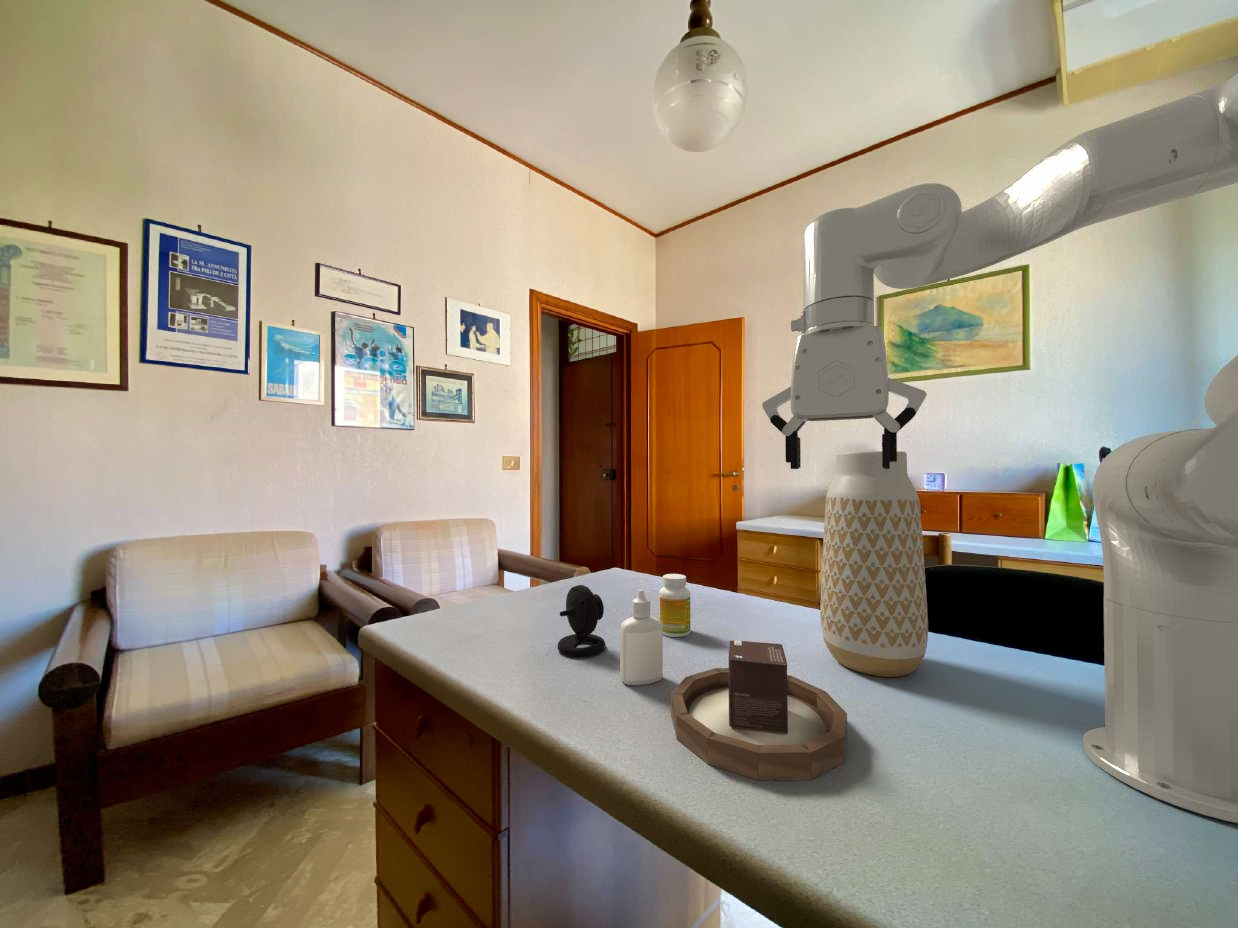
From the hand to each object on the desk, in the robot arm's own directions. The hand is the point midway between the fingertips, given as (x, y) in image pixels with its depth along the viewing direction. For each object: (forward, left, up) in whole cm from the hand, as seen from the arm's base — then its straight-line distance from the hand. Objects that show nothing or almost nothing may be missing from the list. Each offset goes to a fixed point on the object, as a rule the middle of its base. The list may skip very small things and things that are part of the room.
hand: (838, 468), depth 55 cm
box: (+8, +8, -28) cm, 30 cm away
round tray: (+8, +8, -28) cm, 30 cm away
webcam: (+37, -1, -28) cm, 47 cm away
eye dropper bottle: (+24, +4, -28) cm, 37 cm away
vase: (-3, -17, -28) cm, 33 cm away
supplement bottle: (+27, -15, -28) cm, 42 cm away
